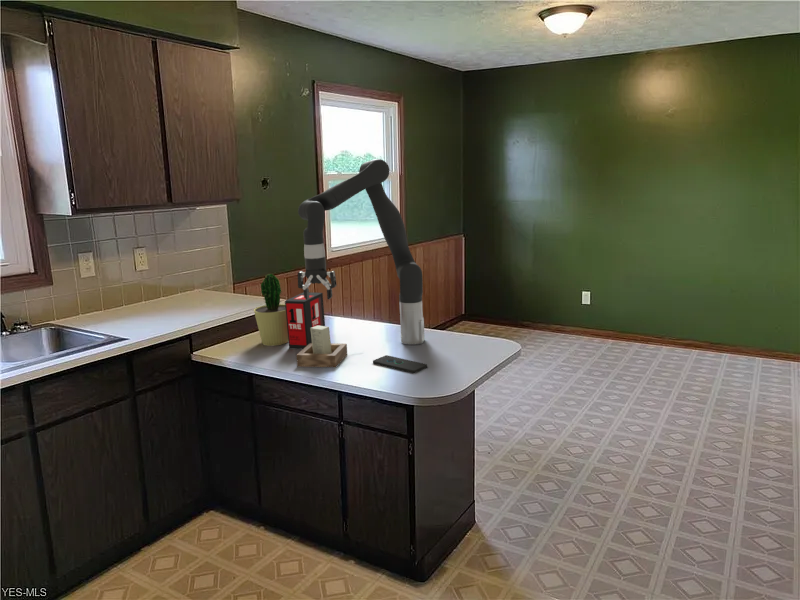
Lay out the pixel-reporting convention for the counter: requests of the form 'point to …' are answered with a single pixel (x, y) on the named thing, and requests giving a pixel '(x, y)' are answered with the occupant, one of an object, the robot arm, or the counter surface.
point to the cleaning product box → (303, 318)
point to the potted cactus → (272, 313)
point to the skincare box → (321, 340)
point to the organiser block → (321, 356)
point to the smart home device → (400, 364)
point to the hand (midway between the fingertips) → (318, 299)
